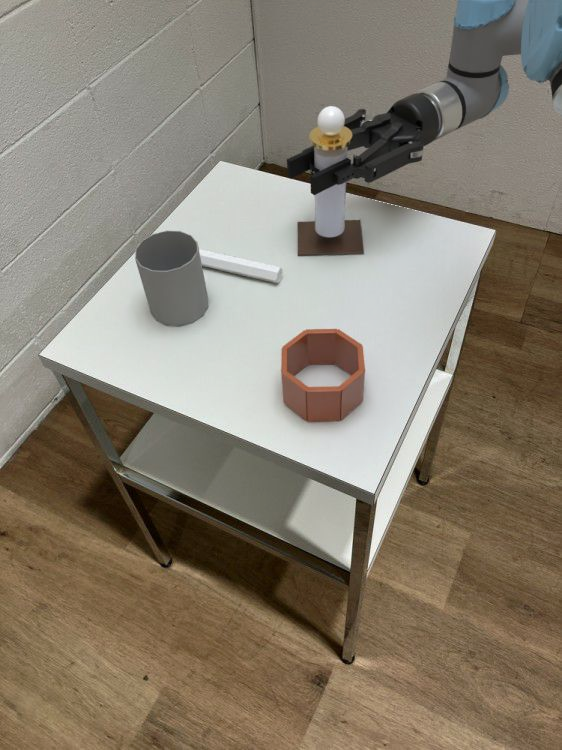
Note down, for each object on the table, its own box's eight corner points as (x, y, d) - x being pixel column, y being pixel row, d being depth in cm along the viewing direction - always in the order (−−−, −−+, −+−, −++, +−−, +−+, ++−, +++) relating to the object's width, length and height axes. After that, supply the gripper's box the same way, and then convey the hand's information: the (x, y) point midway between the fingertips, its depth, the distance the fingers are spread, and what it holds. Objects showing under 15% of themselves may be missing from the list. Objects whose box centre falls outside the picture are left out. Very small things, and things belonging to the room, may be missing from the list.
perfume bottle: (344, 218, 100) (348, 94, 85) (352, 241, 96) (357, 116, 81) (308, 223, 100) (305, 99, 84) (314, 246, 96) (313, 121, 81)
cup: (220, 297, 92) (210, 242, 84) (185, 334, 87) (172, 279, 80) (174, 278, 95) (161, 223, 87) (138, 312, 91) (121, 258, 83)
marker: (184, 261, 98) (280, 282, 94) (178, 263, 96) (276, 285, 92) (186, 244, 97) (283, 264, 93) (179, 246, 96) (278, 267, 91)
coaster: (360, 221, 101) (360, 219, 101) (363, 254, 96) (363, 252, 96) (297, 223, 102) (297, 221, 102) (297, 256, 97) (297, 254, 96)
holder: (359, 359, 83) (361, 327, 78) (364, 420, 77) (367, 390, 72) (284, 361, 83) (281, 329, 79) (283, 422, 77) (280, 392, 73)
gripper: (462, 165, 93) (341, 230, 85) (381, 119, 103) (264, 173, 95) (472, 116, 88) (342, 181, 79) (384, 72, 97) (260, 126, 89)
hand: (300, 177), depth 87 cm, fingers closed on perfume bottle, 4 cm apart
